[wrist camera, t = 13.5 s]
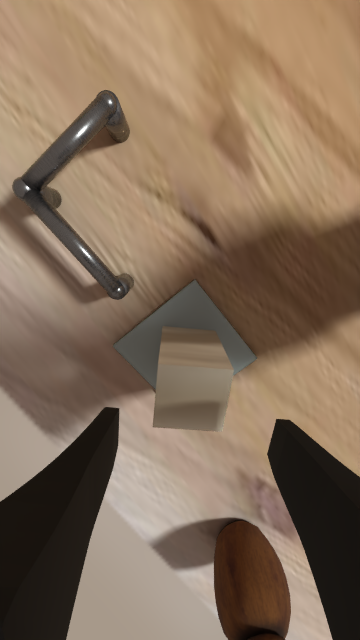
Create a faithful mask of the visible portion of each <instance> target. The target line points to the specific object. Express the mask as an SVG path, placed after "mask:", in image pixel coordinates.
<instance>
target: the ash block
mask: <svg viewBox="0 0 360 640" xmlns="http://www.w3.org/2000/svg"><path fill="white" fill-rule="evenodd" d="M233 372H234V369H233V367H232V365H231V363H230V361H229V358H228V356H227V354H226V352H225V350H224V348H223V346H222V344H221V341H220V339H219V337H218V335H217V333H216V331H213V330H202V329H190V328H179V327H167V326H163V328H162V336H161V344H160V352H159V360H158V371H157V383H156V395H155V407H154V419H153V427H158V428H173V429H189V430H204V431H219V432H222V431H223V425H224V420H225V415H226V409H227V404H228V399H229V393H230V388H231V383H232V377H233Z"/></svg>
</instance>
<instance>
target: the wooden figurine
mask: <svg viewBox="0 0 360 640" xmlns="http://www.w3.org/2000/svg"><path fill="white" fill-rule="evenodd" d="M214 590H215V599H216V605H217V611H218V616H219V620H220V623H221V626H222V628H223V632H224V634H225V635H226V637H227V638H228V640H285V637H286V635H287V633H288V628H289V622H290V615H291V605H290V593H289V589H288V584H287V579H286V576H285V573H284V570H283V567H282V564H281V562H280V560H279V558H278V556H277V554H276V552H275V550H274V549H273V547H272V546H271V544H270V543H269V541H268V540H267V538H266V537H265V536H264V535H263V533H262V532H261V531H260V529H259V528H258V527H257V526H255V525H253V524H251V523H249V522H245V521H236V522H233V523H231V524H229V525H227V526H226V527H225V528H224V529H223V530H222V531H221V533H220V534H219V536H218V537H217V542H216V548H215V556H214Z"/></svg>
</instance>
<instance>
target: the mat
mask: <svg viewBox="0 0 360 640" xmlns="http://www.w3.org/2000/svg"><path fill="white" fill-rule="evenodd" d="M163 326H167V327H179V328H190V329H202V330H213V331H216V333H217V335H218V337H219V339H220V341H221V344H222V346H223V348H224V350H225V352H226V354H227V356H228V358H229V361H230V363H231V365H232V367H233V369H234V372H233V375H235V374H236V373H238V372H239V371H240V370H242V369H243V368H245V367H246V366H248V365H249V364H250V363H252V362H253V361H255V360H256V359H257V357H256V356H255V355H254V353H253V352H252V351H251V350H250V348H249V347H248V346H247V345H246V343H245V342H244V341H243V339H242V338H241V337H240V336H239V334H238V333H237V332H236V331H235V329H234V328H233V327H232V326H231V324H230V323H229V322H228V321H227V319H226V318H225V317H224V315H223V314H222V313H221V312H220V310H219V309H218V308H217V307H216V305H215V304H214V303H213V302H212V300H211V299H210V298H209V297H208V295H207V294H206V293H205V291H204V290H203V289H202V288H201V286H200V285H199V284H198V283H197V281H196V280H195V279H194V280H193V281H192V282H191V283H189V284H188V285H187V286H186V287H184V288H183V289H182V290H181V291H180V292H178V293H177V294H176V295H175V296H173V297H172V298H171V299H170V300H168V301H167V302H166V303H165V304H163V305H162V306H161V307H160V308H158V309H157V310H156V311H155V312H153V313H152V314H151V315H150V316H149V317H147V318H146V319H145V320H144V321H142V322H141V323H140V324H139V325H137V326H136V327H135V328H134V329H132V330H131V331H130V332H129V333H127V334H126V335H125V336H124V337H122V338H121V339H120V340H119V341H118V342H116V343H115V344H114V345H113V347H114V348H115V349H116V350H117V351H118V352H119V353H120V354H121V355H122V356H123V357H124V358H125V359H126V360H127V361H128V362H129V363H130V364H131V365H132V366H133V367H134V368H135V369H136V370H137V371H138V372H139V373H140V374H141V376H142V377H143V378H144V379H145V380H146V381H147V382H148V383H149V384H150V385H151V386H152V387H153V388H154V389H155V390H156V383H157V371H158V360H159V352H160V344H161V336H162V328H163Z"/></svg>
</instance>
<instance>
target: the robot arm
mask: <svg viewBox="0 0 360 640" xmlns="http://www.w3.org/2000/svg"><path fill="white" fill-rule="evenodd" d="M118 434H119V408H110V407H105V408H104V409H103V410H102V411H101V412H100V413H99V415H98V416H97V417H96V418H95V419H94V420H93V422H92V423H91V424H90V425H89V426H88V427H87V428H86V429H85V430H84V431H83V432H82V433H81V434H80V436H79V437H78V438H77V439H76V440H75V441H74V442H73V443H72V444H71V445H70V446H69V447H67V448H66V449H65V450H64V451H63V452H62V453H61V454H60V455H59V456H58V457H57V458H56V459H55V460H54V461H53V462H51V463H50V464H49V465H48V466H47V467H45V468H44V469H43V470H42V471H41V472H39V473H38V474H37V475H36V476H34V477H33V478H32V479H31V480H29V481H28V482H27V483H25V484H24V485H23V486H21V487H20V488H19V489H18V490H16V491H15V492H14V493H12V494H11V495H9V496H8V497H6V498H5V499H4V500H2V501H1V502H0V640H66V637H67V633H68V629H69V624H70V620H71V615H72V611H73V607H74V603H75V599H76V594H77V590H78V586H79V582H80V578H81V573H82V569H83V565H84V561H85V557H86V553H87V549H88V545H89V541H90V538H91V534H92V531H93V528H94V524H95V521H96V518H97V515H98V512H99V509H100V506H101V503H102V500H103V497H104V494H105V491H106V488H107V485H108V482H109V479H110V476H111V473H112V470H113V466H114V462H115V457H116V453H117V448H118ZM267 455H268V458H269V462H270V465H271V469H272V472H273V475H274V478H275V481H276V483H277V485H278V488H279V490H280V493H281V495H282V497H283V500H284V502H285V504H286V507H287V509H288V511H289V514H290V516H291V518H292V521H293V523H294V525H295V528H296V530H297V532H298V535H299V537H300V540H301V542H302V545H303V547H304V550H305V553H306V556H307V559H308V562H309V565H310V568H311V571H312V574H313V577H314V580H315V583H316V586H317V589H318V592H319V596H320V599H321V602H322V605H323V608H324V612H325V615H326V618H327V621H328V625H329V628H330V632H331V635H332V639H333V640H360V477H359V476H357V475H356V474H355V473H354V472H352V471H351V470H350V469H348V468H347V467H346V466H344V465H343V464H342V463H341V462H339V461H338V460H337V459H336V458H335V457H333V456H332V455H331V454H330V453H328V452H327V451H326V450H325V449H324V448H322V447H321V446H320V445H319V444H318V443H317V442H315V441H314V440H313V439H312V438H311V437H310V436H308V435H307V434H306V433H305V432H304V431H303V430H301V429H300V428H299V427H298V426H297V425H295V424H294V423H293V422H292V421H290V420H284V419H276V423H275V427H274V430H273V434H272V438H271V442H270V446H269V450H268V453H267Z"/></svg>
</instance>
